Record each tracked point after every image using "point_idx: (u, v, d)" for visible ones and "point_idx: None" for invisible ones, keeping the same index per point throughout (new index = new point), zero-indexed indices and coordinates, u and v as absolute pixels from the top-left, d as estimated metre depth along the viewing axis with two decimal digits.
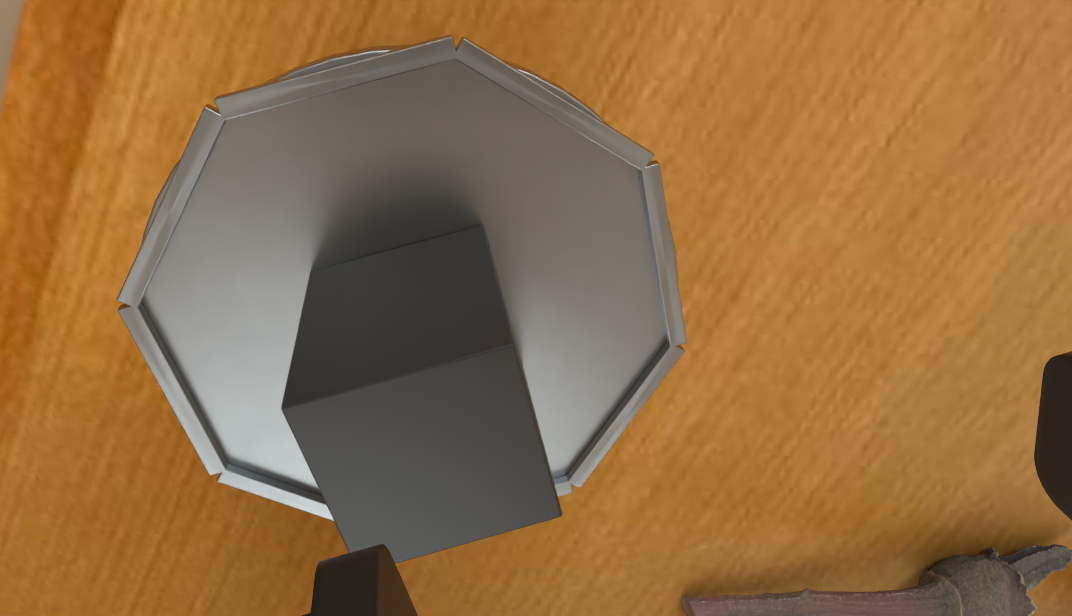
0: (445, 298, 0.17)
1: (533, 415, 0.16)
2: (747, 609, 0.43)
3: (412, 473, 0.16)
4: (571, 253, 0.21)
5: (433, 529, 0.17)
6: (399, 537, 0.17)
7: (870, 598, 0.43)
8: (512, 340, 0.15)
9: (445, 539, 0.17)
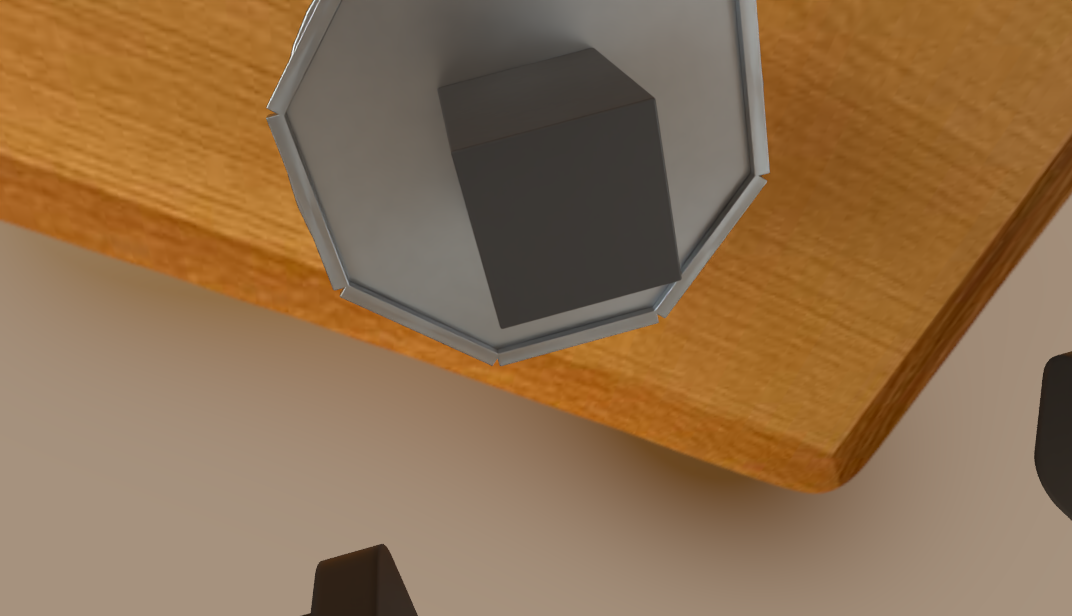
0: None
1: (530, 131, 0.17)
2: None
3: (579, 235, 0.18)
4: None
5: (644, 219, 0.18)
6: (647, 247, 0.19)
7: None
8: (451, 150, 0.17)
9: (659, 208, 0.18)
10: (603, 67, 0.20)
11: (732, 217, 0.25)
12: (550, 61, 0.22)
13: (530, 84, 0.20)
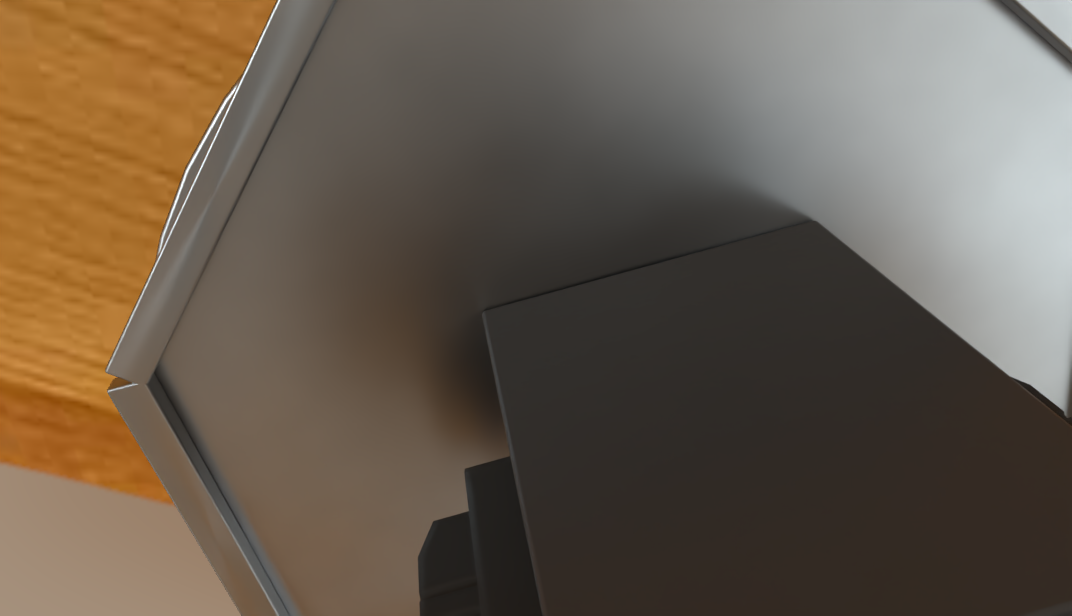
0: None
1: None
2: None
3: None
4: (558, 130, 0.09)
5: None
6: None
7: None
8: None
9: None
10: (896, 313, 0.08)
11: None
12: (729, 257, 0.10)
13: (715, 351, 0.08)
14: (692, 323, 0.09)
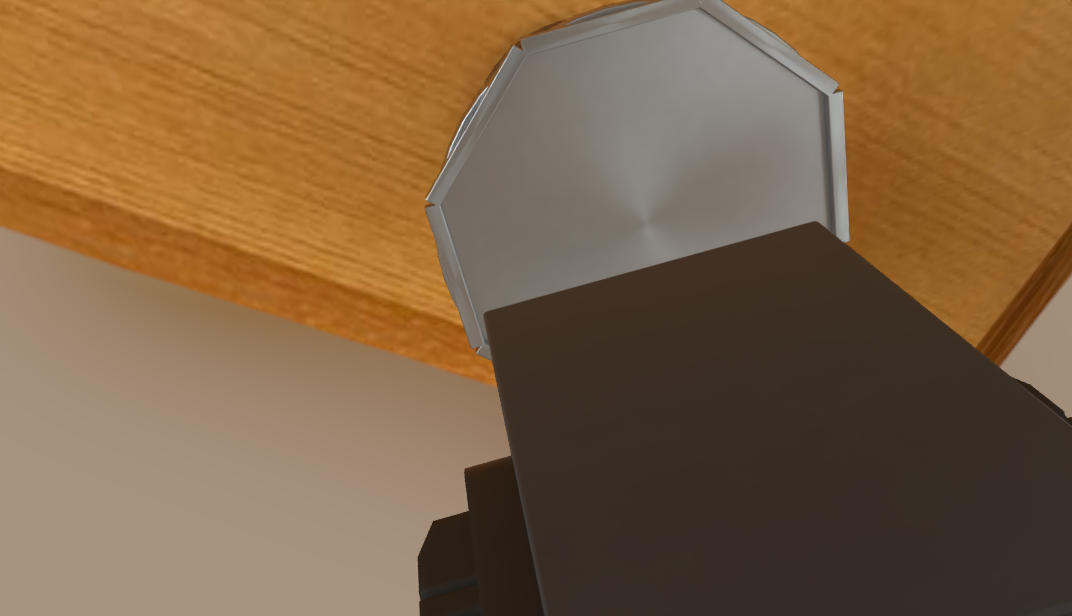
0: None
1: None
2: None
3: None
4: (598, 106, 0.25)
5: None
6: None
7: None
8: None
9: None
10: (897, 314, 0.08)
11: None
12: (730, 257, 0.10)
13: (717, 351, 0.08)
14: (693, 324, 0.09)
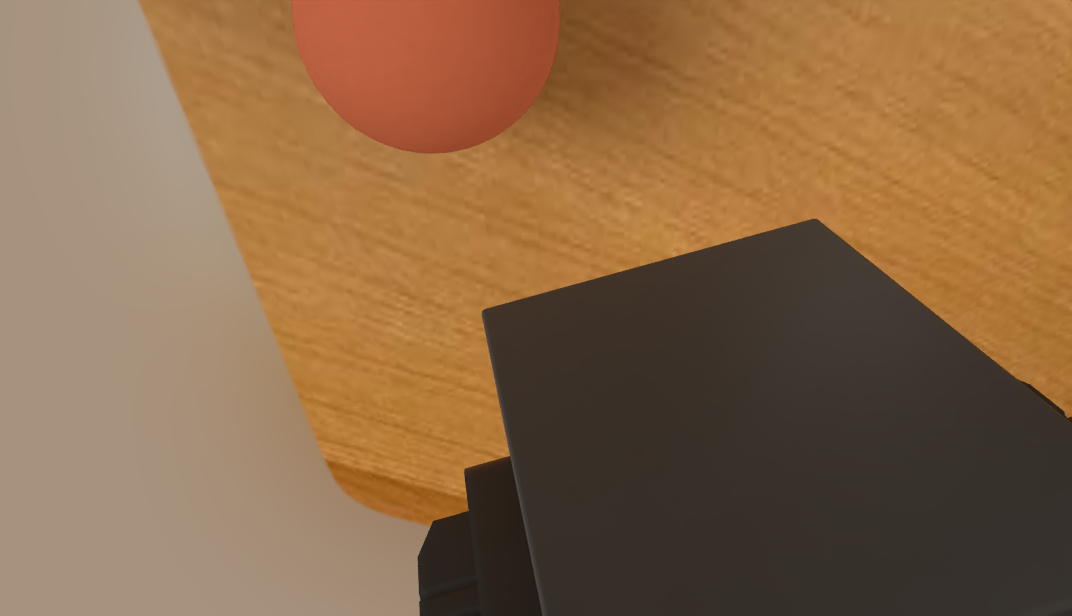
0: None
1: None
2: None
3: None
4: None
5: None
6: None
7: None
8: None
9: None
10: (897, 311, 0.08)
11: None
12: (729, 255, 0.10)
13: (716, 349, 0.08)
14: (692, 321, 0.09)
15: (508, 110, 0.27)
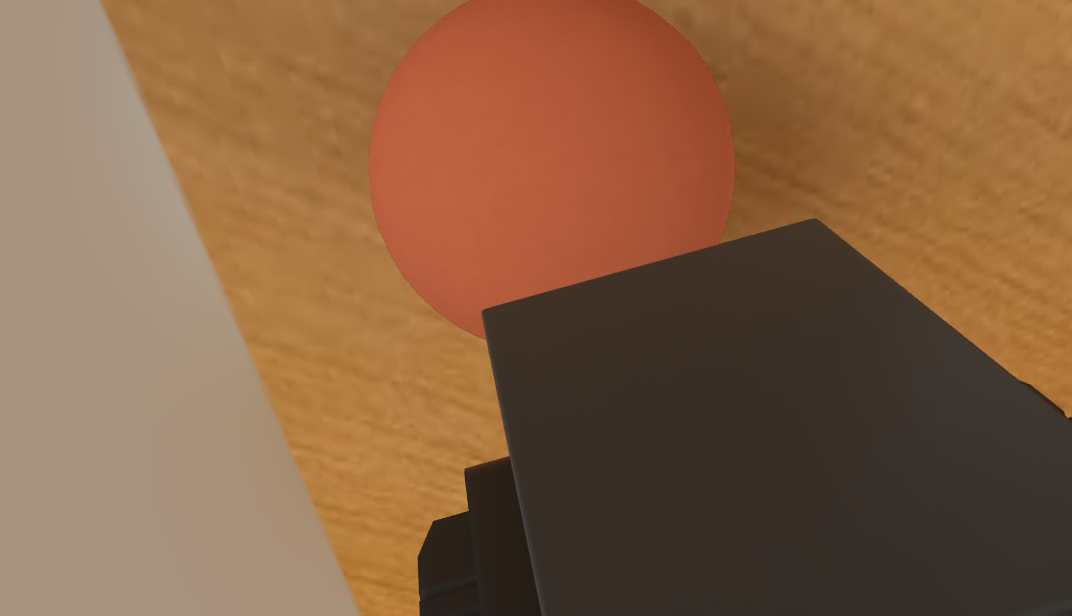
0: None
1: None
2: None
3: None
4: None
5: None
6: None
7: None
8: None
9: None
10: (897, 311, 0.08)
11: None
12: (729, 255, 0.10)
13: (715, 349, 0.08)
14: (692, 321, 0.09)
15: None
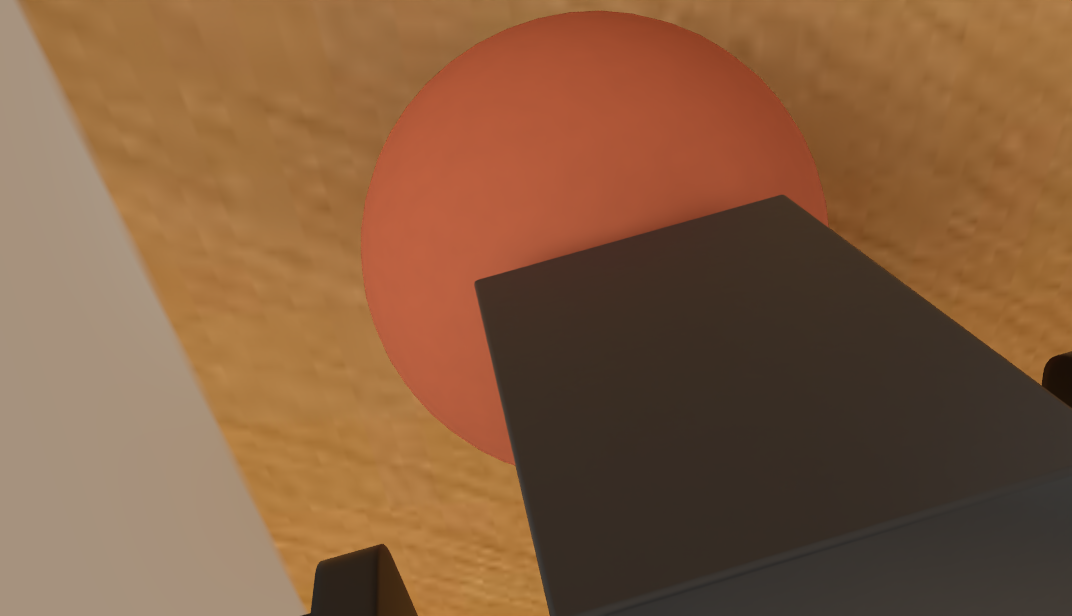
0: None
1: (780, 556, 0.06)
2: None
3: None
4: None
5: None
6: None
7: None
8: (552, 610, 0.06)
9: None
10: (852, 269, 0.09)
11: None
12: (703, 227, 0.11)
13: (688, 306, 0.09)
14: (668, 284, 0.10)
15: None
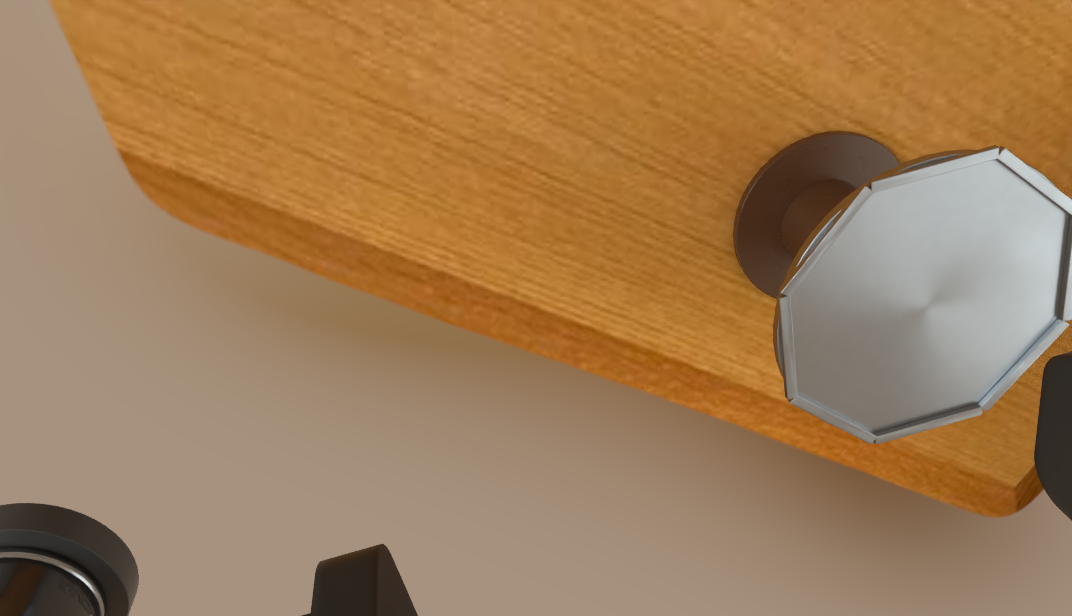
0: None
1: None
2: None
3: None
4: (911, 225, 0.34)
5: None
6: None
7: None
8: None
9: None
10: None
11: (1043, 347, 0.38)
12: None
13: None
14: None
15: None
